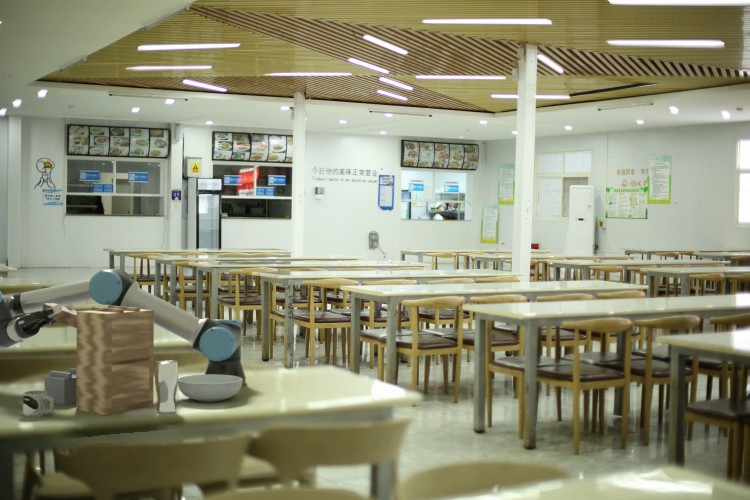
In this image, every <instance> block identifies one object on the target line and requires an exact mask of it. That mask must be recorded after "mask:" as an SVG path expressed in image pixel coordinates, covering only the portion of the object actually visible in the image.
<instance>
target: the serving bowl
mask: <svg viewBox="0 0 750 500" xmlns="http://www.w3.org/2000/svg"><path fill="white" fill-rule="evenodd" d="M242 382H243V379H242V378H241V377H237V376H232V375H216V374H206V375H204V374H194V375H186V376H181V377H178V384H177V387H178V390H179V391H180V393H182V395H184V397H186V398H189V399H191V400H196V401H198V402H204V403H205V402H207V403H213V402H221V401H223V400H227V399H230V398H233V397H234V396H236V395H237V394H238V393H239V392H240V390H241V388H242V386H243V385H242Z"/></svg>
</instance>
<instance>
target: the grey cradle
mask: <svg viewBox="0 0 750 500" xmlns="http://www.w3.org/2000/svg"><path fill="white" fill-rule="evenodd" d="M44 391H47V396H49V397H52V398H53V400H54V404H56V405H57V404H58V405H63V406H65V405H70V404H76V368H74V367H69V369H68V372H63V371H58V370H49V375H45V376H44ZM47 403H50V401H49V400H47Z"/></svg>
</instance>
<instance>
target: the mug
mask: <svg viewBox="0 0 750 500" xmlns="http://www.w3.org/2000/svg"><path fill="white" fill-rule="evenodd" d="M22 395H23V396H22V401H23V402H22V403H23V404H22V408H23V409H22V416H23V417H25V418H27V417H28V418H37V417H38V418H39V417H45V416H47V415H48V414H52V413H53V412H54V410H55V409H54V408H55V403H54V400H53V398H52V397H49V396H47V391H45V390H28V391H24V392H23V393H22ZM47 400H49V401H50V402H49V409H48V402H47Z"/></svg>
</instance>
